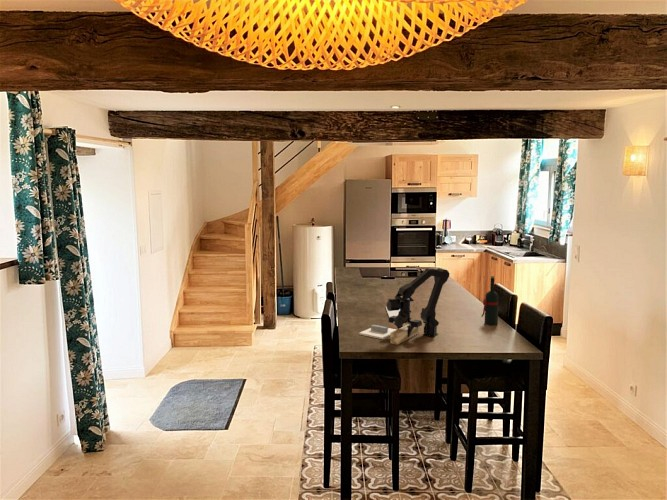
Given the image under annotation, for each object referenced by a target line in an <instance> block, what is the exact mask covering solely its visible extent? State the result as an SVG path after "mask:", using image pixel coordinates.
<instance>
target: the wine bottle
mask: <svg viewBox="0 0 667 500" xmlns="http://www.w3.org/2000/svg"><path fill="white" fill-rule="evenodd" d="M489 287H490V291H489V290H488V291H487V292H486V294H485V298H483V303H482V304H483V310H482V314H481V318H484V324H485V325H487V326H497V325H498V323H499V294H498V293H497V292H496V291H495V276H494V275H490V286H489Z"/></svg>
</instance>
